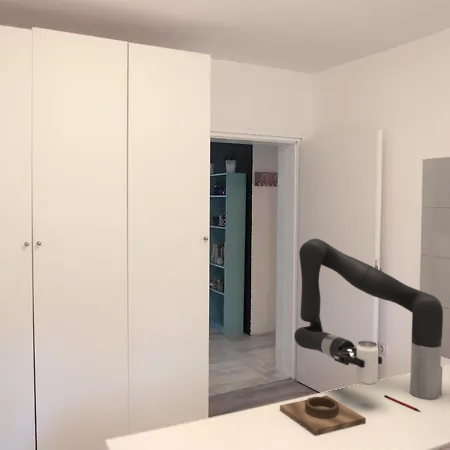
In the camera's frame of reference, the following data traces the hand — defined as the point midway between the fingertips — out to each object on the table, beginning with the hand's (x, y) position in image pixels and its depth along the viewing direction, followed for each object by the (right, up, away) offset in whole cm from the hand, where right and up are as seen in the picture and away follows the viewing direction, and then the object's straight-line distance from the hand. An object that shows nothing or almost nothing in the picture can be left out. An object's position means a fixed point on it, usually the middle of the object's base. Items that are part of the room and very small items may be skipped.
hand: (372, 362), depth 153 cm
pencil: (+11, -15, +5) cm, 19 cm away
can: (-1, -7, +2) cm, 7 cm away
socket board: (-17, -15, -5) cm, 23 cm away
